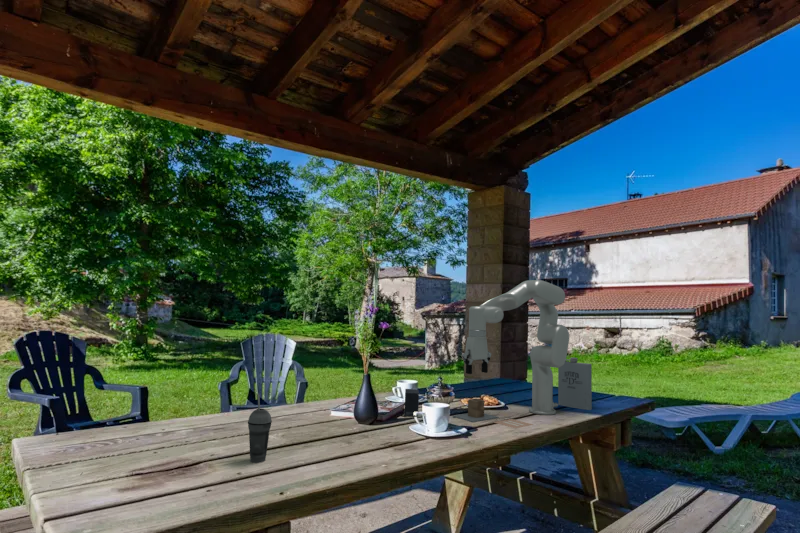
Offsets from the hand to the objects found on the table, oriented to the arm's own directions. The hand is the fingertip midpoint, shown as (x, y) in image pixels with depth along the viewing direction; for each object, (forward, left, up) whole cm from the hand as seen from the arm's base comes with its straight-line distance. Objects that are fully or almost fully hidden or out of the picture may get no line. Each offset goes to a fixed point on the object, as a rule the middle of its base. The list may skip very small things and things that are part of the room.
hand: (476, 373), depth 214 cm
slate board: (0, 0, -20) cm, 20 cm away
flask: (-66, +5, -20) cm, 69 cm away
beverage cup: (+100, +5, -20) cm, 102 cm away
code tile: (-6, +16, -20) cm, 26 cm away
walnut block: (0, 0, -19) cm, 19 cm away
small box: (+18, -23, -21) cm, 36 cm away
